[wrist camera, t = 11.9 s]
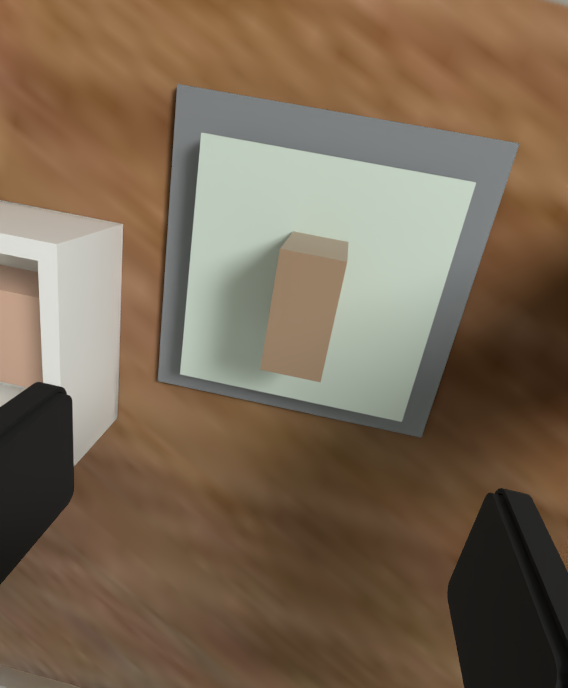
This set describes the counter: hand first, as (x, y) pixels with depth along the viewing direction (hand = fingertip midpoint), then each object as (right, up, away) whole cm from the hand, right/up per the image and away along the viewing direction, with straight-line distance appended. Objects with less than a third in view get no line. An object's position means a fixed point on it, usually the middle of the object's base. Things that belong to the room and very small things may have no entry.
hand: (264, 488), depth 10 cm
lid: (+2, +7, +17) cm, 18 cm away
